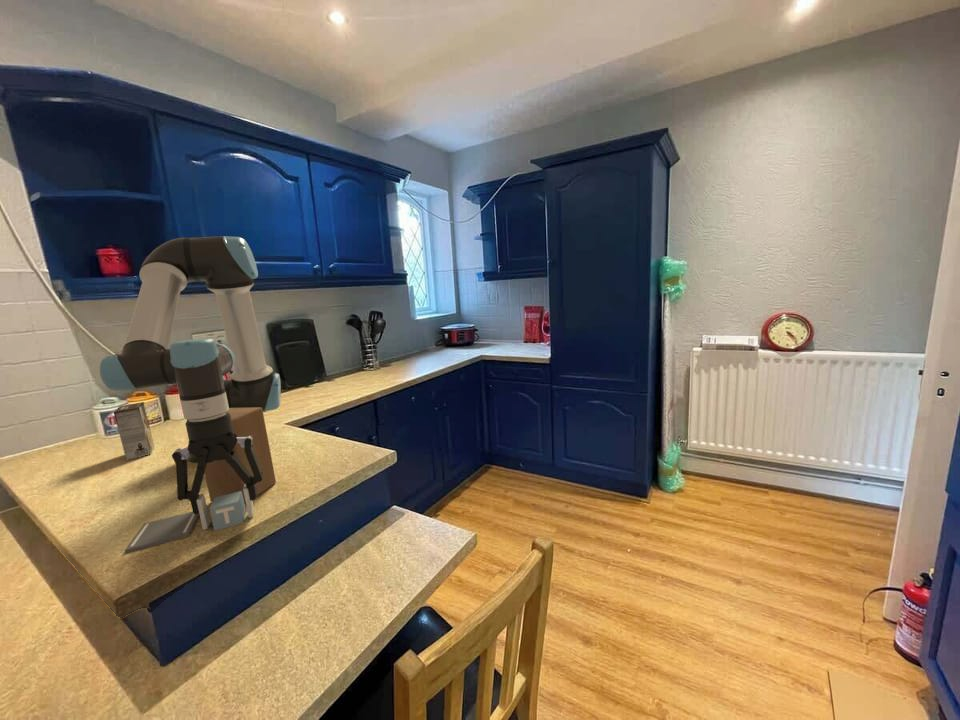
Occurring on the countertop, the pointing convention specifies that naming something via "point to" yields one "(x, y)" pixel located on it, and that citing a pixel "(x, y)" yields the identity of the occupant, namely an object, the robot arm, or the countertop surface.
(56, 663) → the countertop surface
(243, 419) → the wooden block
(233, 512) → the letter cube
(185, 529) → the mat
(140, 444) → the coffee box
